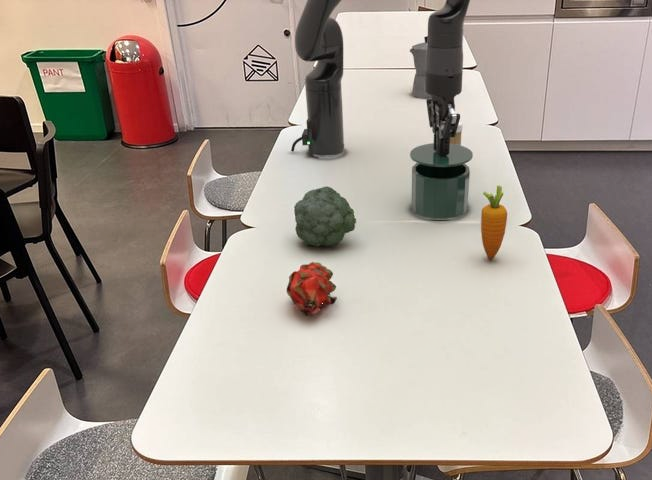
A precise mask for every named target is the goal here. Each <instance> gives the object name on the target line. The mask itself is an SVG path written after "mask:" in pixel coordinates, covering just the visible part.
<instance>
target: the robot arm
mask: <svg viewBox="0 0 652 480" xmlns="http://www.w3.org/2000/svg"><path fill="white" fill-rule="evenodd" d="M342 1H343V0H306V1H305V4H304V8H303V10H302V12H301V15H300V18H299V19H298V22H297V26H296V28H295V32H294V48H295V52H296V54H297V56H298V57H299V58H300V60H302V61H304V62H309V63H311V62H317V63H316V65H315V66H314V68H312V70H311V71H309V72H308V73H307V74H306V75H305V78H304V85H305V86H304V87H305V99H306V112H307V118H306V128H304V129H303V131H302V133H301V136H300V137H299V138H296V139H295V140H294V142H293V143H292V145H291V149H290V151H291V152H292V153H294V152H295V148H296V145H297V144H298V143H299V142H301V143H302V146H308V157H313V158H317V159H318V158H334V157H338V156H341V155H343V154H344V153H345V151H346V149H345V137H344V136H345V135H344V133H345V132H344V116H343V115H344V113H343V93H342V92H343V91H342V80H343V76H344V36H343V31H342V28H341V26H340V24H339V22H338V21H337V20H336V19H335V18H334V17H331V15H332V13H333V12H334V11H335V10H336V8H337V7H338V5H340V3H341V2H342ZM470 2H471V0H445V2H444V5H443V6H442V7H441V8H440V9H438V10H436V11H434V12H432V13H430V15H429V16H428V18H427V36H428V40H427V52H426V74H425V91H426V93H427V94H429V95H431V96H432V98H426V100H425V102H426V109H427V117H428V125H429V128H431V130H432V131H431V132H432V133H433V143H434V147H433V149H434V150H435V151H436V131H437V130H438V129H439V155H441V156H444V155H448V154H449V147H450V138H451V137H455V135H456V131H457V127H458V124H459V121H460V120H461V114H460V113H456V104H455V97H456V96H459V95H460V94H461V93H462V91H463V72H464V71H463V70H464V49H463V48H464V45H463V44H464V23H465V19H466V16H467V14H468V10H469V5H470Z"/></svg>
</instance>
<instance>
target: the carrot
mask: <svg viewBox="0 0 652 480" xmlns="http://www.w3.org/2000/svg"><path fill="white" fill-rule="evenodd" d="M482 195H484V197H486V199H487V200H488V201H489V203H488V204H487V205H484V207H482V209H481V216H480V233H481V241H482V245H483V250H484V253H485V254H486V257H487V259H488V260H489V261H492V260H493V259H494V258H495V257H496V256H497V254H498V252H499V251H500V249H501V247H502V243H503V240H504V237H505V233H506V227H507V223H508V222H507V221H508V210H507V208H506V207H505V206H504V205H503V204H500V202H501V200H502V199H503V196H504V192H503V187H502V186H501V185H497V186H496V194H495V195H494V194H493V193H488V192H486V191H484V192H483V194H482Z"/></svg>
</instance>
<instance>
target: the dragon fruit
mask: <svg viewBox="0 0 652 480" xmlns="http://www.w3.org/2000/svg"><path fill="white" fill-rule="evenodd" d="M333 275H334V273H333V271H332V270H331V269H329V268H327V266H325V265H323V264H322V263H320V262H318V261H317V262H314V261H311V262H309V263H308V264H307V263H306V264H305V263H304V264H301V265H300V266H299V269H298V270H295V271H293V272H291V274H290V275H289V277H288V283H287V286H286V294H287V295H288V296H289V298H290V300H291V302H292V303H293V305H295V306H296V307H297V308H298V309H299V310H300V312H301V314H302V315H304V316H306V317H308V314H312V315H316V314H317V312H318V313H320V311H321V310H319V309H320V307H322V308H325V307H327V306H330V305H335V303H336V302H337V300H338V296H331V293H333V292H334V291H335V290H336V289H337V285H336V284H334V283H333V282H332V281H331V279H332V278H333ZM322 303H323V304H322Z"/></svg>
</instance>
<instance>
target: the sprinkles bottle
mask: <svg viewBox="0 0 652 480" xmlns="http://www.w3.org/2000/svg"><path fill="white" fill-rule="evenodd" d="M462 131H463V122H462V121H460V120H459V124H458V127H457V131H456V135H455V137H451V138H450V144H457V145H461V146H462V133H463V132H462Z"/></svg>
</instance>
